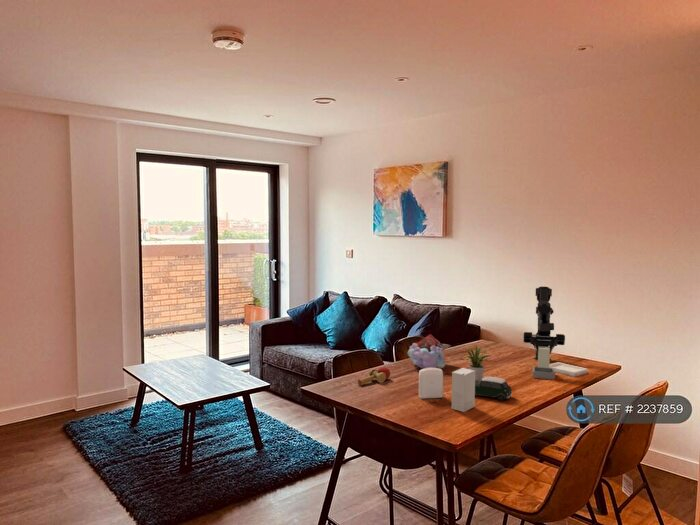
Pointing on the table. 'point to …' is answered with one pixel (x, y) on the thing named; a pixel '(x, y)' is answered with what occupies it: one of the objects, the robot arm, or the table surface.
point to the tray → (568, 369)
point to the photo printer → (430, 383)
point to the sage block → (543, 357)
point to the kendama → (376, 375)
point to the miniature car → (493, 388)
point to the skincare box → (463, 389)
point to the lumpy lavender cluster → (428, 353)
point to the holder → (543, 373)
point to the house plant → (477, 362)
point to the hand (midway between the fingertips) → (543, 353)
